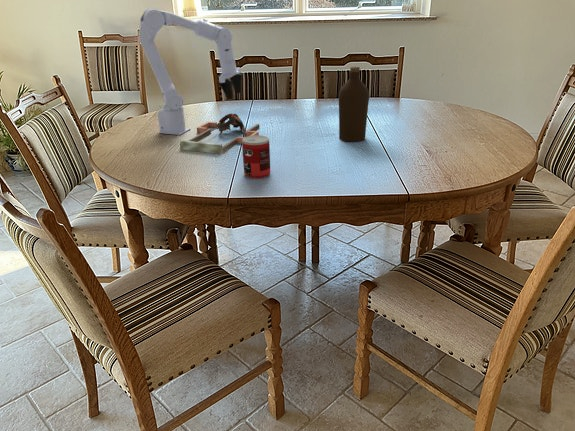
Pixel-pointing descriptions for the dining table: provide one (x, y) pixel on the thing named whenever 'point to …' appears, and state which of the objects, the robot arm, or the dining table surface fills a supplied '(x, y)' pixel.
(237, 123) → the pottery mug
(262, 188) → the dining table surface
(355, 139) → the olive oil
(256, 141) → the canned food
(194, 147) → the channel
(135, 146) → the dining table surface
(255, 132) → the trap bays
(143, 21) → the robot arm
